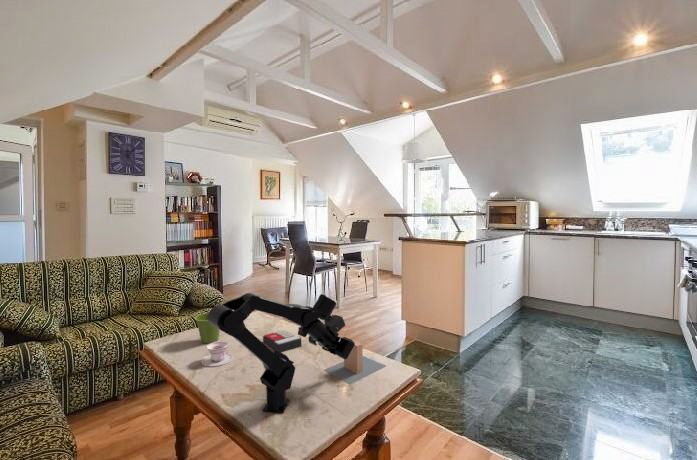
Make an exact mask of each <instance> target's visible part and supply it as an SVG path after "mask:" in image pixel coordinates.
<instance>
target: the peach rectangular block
mask: <svg viewBox="0 0 697 460" xmlns="http://www.w3.org/2000/svg"><path fill="white" fill-rule="evenodd" d="M353 341H354V342H355V345H354V347H353V349H352V351H351V352H350V354H349V356H348V358H347V359H343V361H344V367H345V368H347V369H349V370H351V371H353V372H355V373H357V374H358V373H360V372H362V370H363V362H362V356H363V343H360V342H358V341H356V340H353Z"/></svg>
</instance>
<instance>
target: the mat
mask: <svg viewBox="0 0 697 460" xmlns="http://www.w3.org/2000/svg"><path fill="white" fill-rule="evenodd" d="M362 362H363V370H362V372H360V373H358V374H357V373H355V372H353V371H351V370H349V369H347V368H345V367H344V360H343V361H341V362H339V363H337V364H334V365H332V366H329V367H327V368H325V369H324V371H325V372H327V373H329V374H331V375H332V376H333V377H336V378H338V379H340V380H342V381H343V382H345V383H347V384H349V385H352V384H354V383H356V382H358V381H360V380H362V379H364V378H366V377H368V376H370V375H372V374H374V373H376V372H378V371H380V370H382V369H384V368H386V367H387V365H385V364H383V363H381V362H378V361H376V360H374V359H372V358H369V357H367V356H365V355H362Z"/></svg>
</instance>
